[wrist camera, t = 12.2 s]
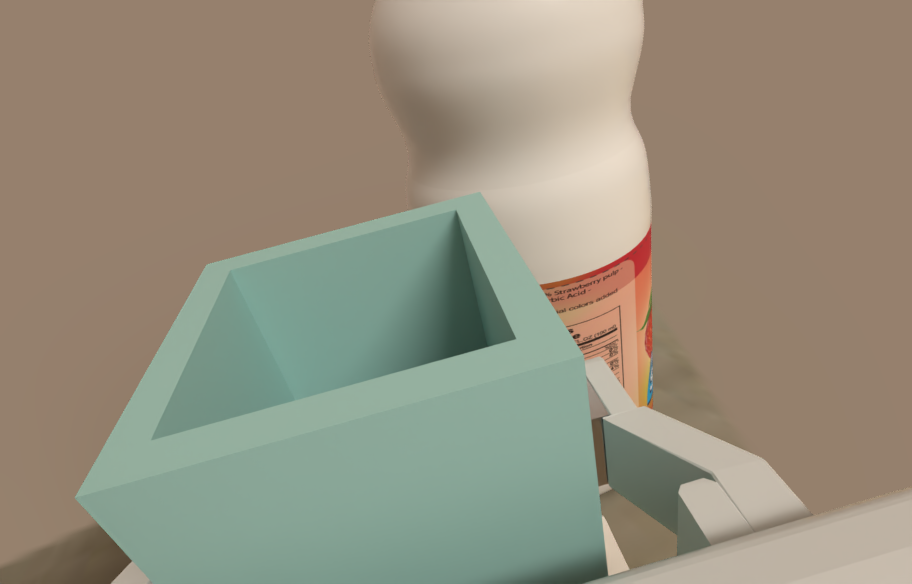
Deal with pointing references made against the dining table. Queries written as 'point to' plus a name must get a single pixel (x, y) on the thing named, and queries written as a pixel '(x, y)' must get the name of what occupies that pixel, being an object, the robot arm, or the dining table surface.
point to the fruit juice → (536, 148)
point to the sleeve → (361, 419)
